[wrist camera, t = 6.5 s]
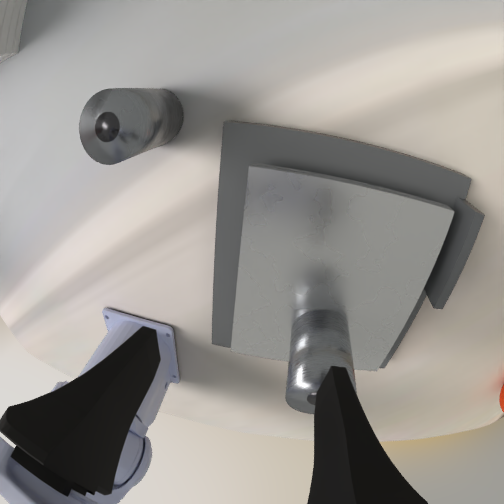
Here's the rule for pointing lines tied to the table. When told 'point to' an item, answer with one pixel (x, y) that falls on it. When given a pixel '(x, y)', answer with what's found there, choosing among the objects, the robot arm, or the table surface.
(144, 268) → the table surface
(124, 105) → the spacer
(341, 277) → the pan
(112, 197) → the table surface
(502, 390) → the clementine
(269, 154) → the scale
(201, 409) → the table surface
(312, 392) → the spacer
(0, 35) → the light grey rectangular block
